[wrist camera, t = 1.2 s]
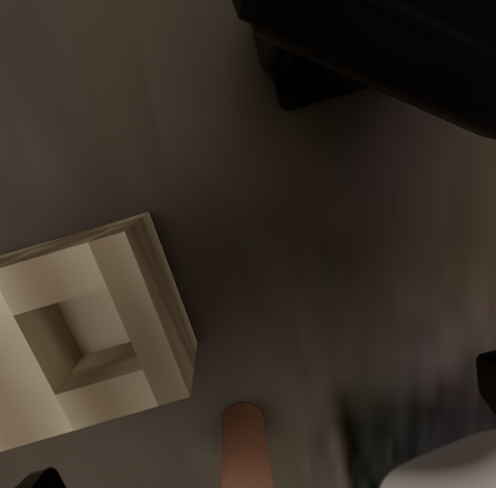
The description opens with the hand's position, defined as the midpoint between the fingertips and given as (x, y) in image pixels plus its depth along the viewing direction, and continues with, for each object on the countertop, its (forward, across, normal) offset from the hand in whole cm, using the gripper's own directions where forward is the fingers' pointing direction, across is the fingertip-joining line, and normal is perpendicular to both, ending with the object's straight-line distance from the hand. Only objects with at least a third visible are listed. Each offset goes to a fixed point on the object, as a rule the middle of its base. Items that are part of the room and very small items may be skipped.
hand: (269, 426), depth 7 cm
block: (+12, +9, +1) cm, 15 cm away
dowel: (+12, +3, +10) cm, 16 cm away
